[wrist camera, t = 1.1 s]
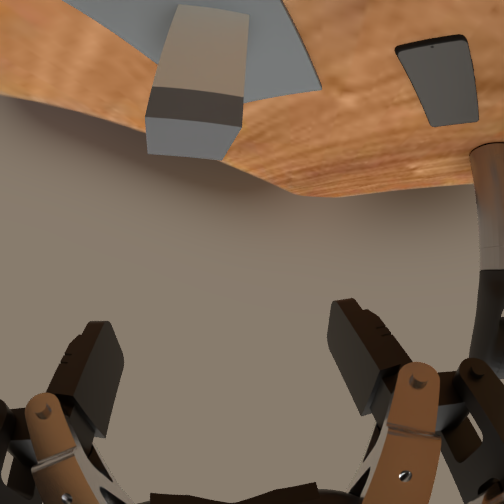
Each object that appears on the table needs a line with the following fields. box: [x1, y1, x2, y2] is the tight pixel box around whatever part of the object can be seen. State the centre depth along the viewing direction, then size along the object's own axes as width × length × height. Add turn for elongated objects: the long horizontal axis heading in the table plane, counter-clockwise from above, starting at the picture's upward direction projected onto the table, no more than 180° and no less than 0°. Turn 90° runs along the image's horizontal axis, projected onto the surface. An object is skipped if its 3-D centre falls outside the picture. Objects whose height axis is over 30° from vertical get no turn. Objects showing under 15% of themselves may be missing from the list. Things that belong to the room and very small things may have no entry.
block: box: [145, 4, 250, 160], centre depth 16 cm, size 5×5×10 cm
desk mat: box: [62, 0, 322, 103], centre depth 16 cm, size 22×12×1 cm, turn 24°
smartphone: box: [395, 35, 479, 127], centre depth 19 cm, size 7×1×15 cm
